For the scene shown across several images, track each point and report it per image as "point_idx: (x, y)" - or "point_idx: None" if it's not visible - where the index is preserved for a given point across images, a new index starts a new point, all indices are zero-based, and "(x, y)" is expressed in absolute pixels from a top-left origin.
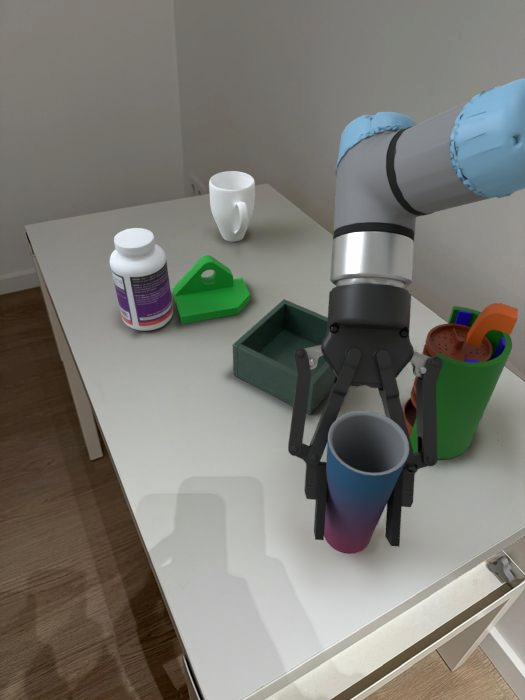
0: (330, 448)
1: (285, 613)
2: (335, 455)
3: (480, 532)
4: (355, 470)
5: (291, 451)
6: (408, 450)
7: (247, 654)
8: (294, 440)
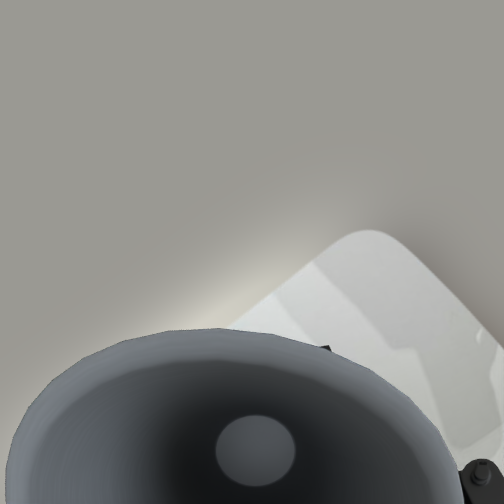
0: (450, 453)
1: (327, 320)
2: (419, 418)
3: None
4: (283, 341)
5: (484, 465)
6: (5, 488)
7: (358, 265)
8: (495, 492)
